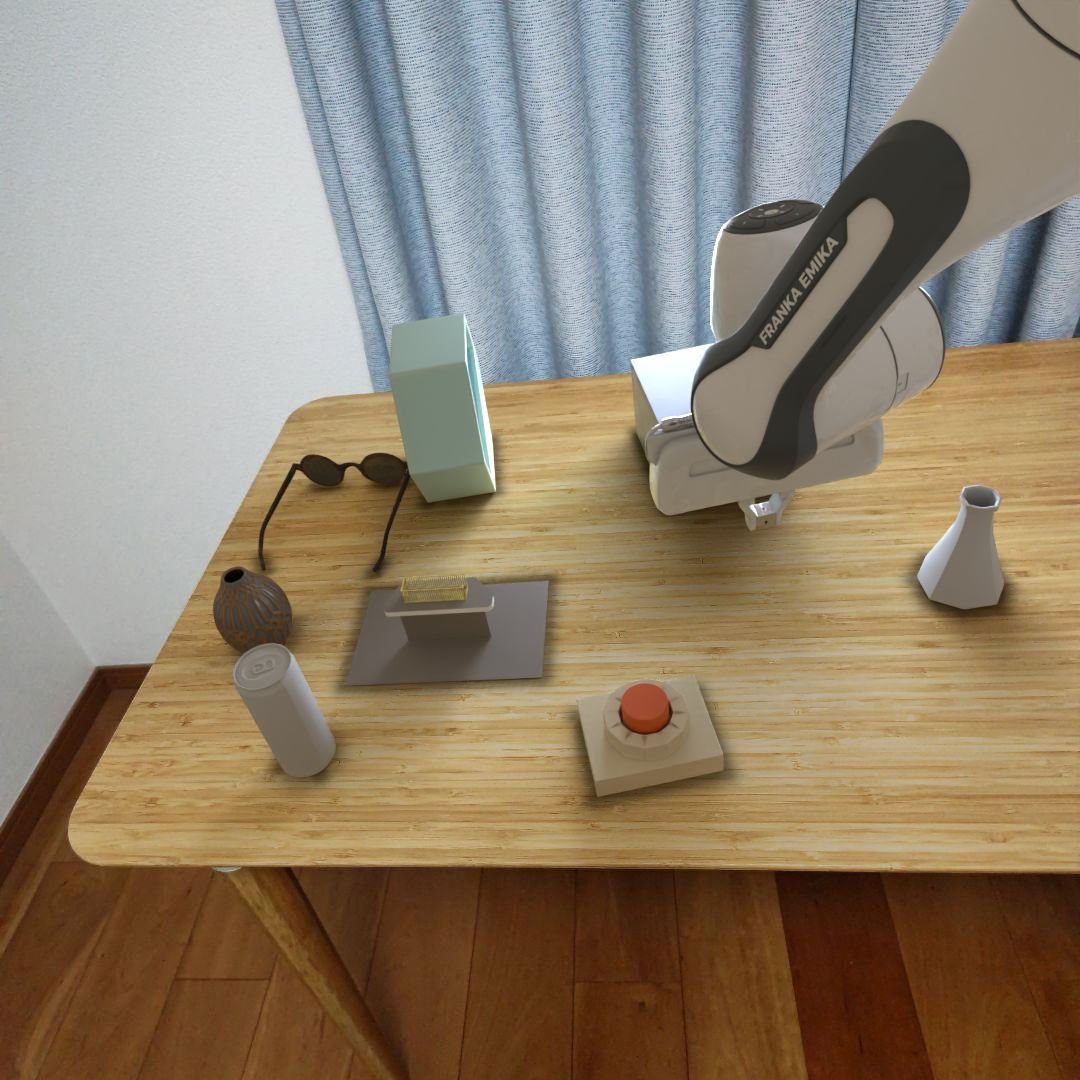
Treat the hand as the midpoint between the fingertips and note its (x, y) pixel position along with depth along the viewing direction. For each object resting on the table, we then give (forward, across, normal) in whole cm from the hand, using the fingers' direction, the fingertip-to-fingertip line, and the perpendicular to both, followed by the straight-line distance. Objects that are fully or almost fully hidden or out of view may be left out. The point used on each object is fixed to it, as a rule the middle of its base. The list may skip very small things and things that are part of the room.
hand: (762, 523), depth 83 cm
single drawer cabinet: (+4, -1, +17) cm, 17 cm away
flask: (+5, +16, -8) cm, 18 cm away
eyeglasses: (+4, -42, +17) cm, 45 cm away
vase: (+4, -49, +2) cm, 49 cm away
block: (+4, -15, -18) cm, 24 cm away
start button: (+1, -15, -18) cm, 24 cm away
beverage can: (+4, -44, -13) cm, 46 cm away
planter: (+4, -28, +22) cm, 36 cm away
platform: (+4, -30, -2) cm, 31 cm away
